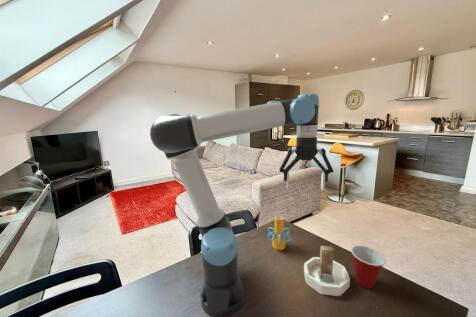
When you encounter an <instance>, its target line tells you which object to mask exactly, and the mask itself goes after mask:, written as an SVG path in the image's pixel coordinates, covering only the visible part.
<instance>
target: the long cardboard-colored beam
mask: <svg viewBox="0 0 476 317" xmlns="http://www.w3.org/2000/svg"><path fill="white" fill-rule="evenodd" d="M334 250H335V249H334V247H333V246H329V245H320V249H319V257H320V266H319V275H320V278H323V273H326V274H332V269H333V260H334V253H335V251H334Z"/></svg>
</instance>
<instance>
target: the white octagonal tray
mask: <svg viewBox="0 0 476 317" xmlns="http://www.w3.org/2000/svg"><path fill="white" fill-rule="evenodd" d="M319 266H320V256H313V257H311V258H310V259H308V260H307V261H305V262H304V263H303V274H304V279H305V284H307V285H308V286H309V287H311V288H312V289H313V290H314V291H316V292H318V293H319V294H320V295H325V296H326V295H327V296H334V297H341V296H342V295H343V294H344V293H345V292H346V291H347V290H348V289H349V288H350V286H351V285H350V284H351V278H350V276H349V273H348V271H347V269H346V267H345V266H344V265H342V263H339V262H338V261H335V260H334V259H333V269H332V274H326V273H323V278H320V275H319Z"/></svg>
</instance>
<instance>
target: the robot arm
mask: <svg viewBox="0 0 476 317" xmlns="http://www.w3.org/2000/svg"><path fill="white" fill-rule="evenodd" d="M319 101H320V100H319V95H318V94H316V93H303V94H299V95H298V96H297V97H296V98H295V97H294V98H289V99H284V100H270V101H268V102H266V103H264V104H257V105H253V106H252V105H251V106H248V107H241V108H236V109H231V110H225V111H220V112H214V113H209V114H204V115H199V116H196V115H195V114H193V113H189V114H184V115H180V114H176V113H174V114H173V113H172V114H166V115H161V116H160V117H158V118H156V119H155V120H154V121H153V122H152V125H151V126H150V129H149V130H150V131H149V136H150V140H151V142H152V144H153V145H154V147H155V148H157V149H158V150H159V151H161V152H163V154H164V155H165V157H166V159H167V160H170V161H172V162H173V163H174V167H175V168H176V171H177V173H178V175H179V177H180V179H181V182H182V184H183V186H184V189H185V191H186V194H187V196H188V198H189V199H190V202H191V205H192V206H193V208H194V211H195V213H196V216H197V219H196V223H195V224H196V226H197V229H198V230H199V233H200V235H201V237H202V238H201V245H200V250H201V251H200V252H201V253H202V254H201V256H202V269H203V283H202V286H201V289H200V295H199V297H200V306H201V307H202V309H203V310H204V311H205V313H206V314H208V315H210V316H212V317H227V316H230V315H233V314H235V313H236V312H237V311H238V310H239V309H241V307H242V305H243V304H244V300H245V290H244V289H245V288H244V285H243V283H242V281H241V279H240V276H239V264H238V263H239V261H238V259H239V258H238V251H239V250H238V248H239V244H238V240H237V237H236V236H237V235H236V234H235V232H233V228H232V224H231V220H230V219H229V217H228V216H227V215H226V211H225V210H224V208H221V207H219V204H218V202H217V200H216V197H215V195H214V193H213V190H212V187H211V185H210V182H209V180H208V178H207V176H206V174H205V171H204V169H203V168H204V167H203V165H202V163H201V161H200V158H199V156H198V153H197V150H198V148H199V147H200V146H201V145H202V143H205V142H210V141H216V140H220V139H226V138H231V137H235V136H239V135H245V134H251V133H255V132H259V131H264V130H265V131H266V130H269V129H275V128H279V127H280V128H281V127H284V126H285V127H287V126H291V125H296V136H297V137H296V143H295V144H296V145H295V147H296V148H295V149H291V148H290V147H289V148H287V154H286V155H285V158H284V159H283V161H282V163H281V165H280V167H279V170H278V171H279V172H280V173H282V174H283V181H284V182H286V190H287V191H289V190H290V172H289V171H291V169H292V168H293V167H294V166H295V165H296V164H297V163H298V162H299V161H300V160H301V161H312V160H313V161H314V162H315V163H316V165H317V166H318V167H319V168H320V169H321V170H322V172H321V181H320V183H321V184H320V190H321V191H325V186H326V183H327V182H328V180H329V179H328V178H329V174H330V173H334V169H333V166H332V165H331V163H330V161H329V159H328V157H327V154H326V149H325V148H323V147H322V148H318V137H317V136H318V127H319V124H318V123H319V122H318V121H319V108H320V102H319ZM294 153H295V155H296V156H295V157H294V158H293V159H292V161H290V163H289V164H288V162H289V160H290V158H291V156H292V155H294ZM318 153H319V154H320V156H321V157H322V159H323V161H324V164H325V165H326V168H325V167H324V165H323V164H322V162H320V161H319V160H318V159H317V157H316V156H317V154H318ZM287 164H288V165H287ZM286 165H287V166H286Z"/></svg>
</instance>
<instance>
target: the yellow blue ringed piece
mask: <svg viewBox="0 0 476 317" xmlns="http://www.w3.org/2000/svg"><path fill="white" fill-rule="evenodd" d="M270 230H272V231H270ZM285 230H287V232H285ZM267 233H268V235H267V240H268V241H271V242H272V243H271V244H272V248H273V249H274V250H276V251H283V250H285V248H286V242H287V243H288V242H289V243H290V242H291V240H292V237H291V235H290V228H289V227H284V216H282V215H275V216H274V227H272V226H270V227H268V228H267ZM270 236H272V238H270ZM287 236H288V239H287V238H286V237H287Z"/></svg>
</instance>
